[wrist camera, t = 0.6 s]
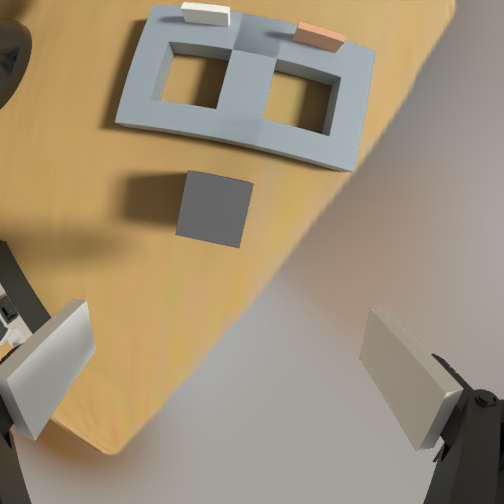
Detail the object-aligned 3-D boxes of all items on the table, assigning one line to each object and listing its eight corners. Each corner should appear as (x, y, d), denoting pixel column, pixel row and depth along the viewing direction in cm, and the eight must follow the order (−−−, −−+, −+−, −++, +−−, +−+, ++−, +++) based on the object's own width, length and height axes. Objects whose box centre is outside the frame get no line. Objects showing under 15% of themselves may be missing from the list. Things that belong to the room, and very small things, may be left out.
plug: (193, 218, 33) (175, 234, 23) (203, 172, 32) (187, 170, 22) (239, 227, 34) (239, 248, 24) (249, 182, 32) (253, 183, 23)
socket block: (127, 127, 30) (102, 117, 24) (161, 20, 27) (146, -9, 20) (340, 172, 32) (365, 171, 26) (362, 62, 29) (387, 41, 23)
